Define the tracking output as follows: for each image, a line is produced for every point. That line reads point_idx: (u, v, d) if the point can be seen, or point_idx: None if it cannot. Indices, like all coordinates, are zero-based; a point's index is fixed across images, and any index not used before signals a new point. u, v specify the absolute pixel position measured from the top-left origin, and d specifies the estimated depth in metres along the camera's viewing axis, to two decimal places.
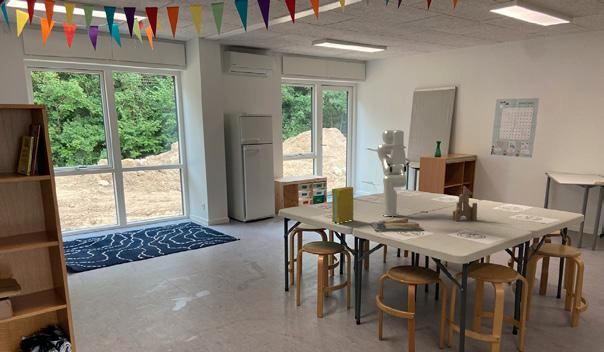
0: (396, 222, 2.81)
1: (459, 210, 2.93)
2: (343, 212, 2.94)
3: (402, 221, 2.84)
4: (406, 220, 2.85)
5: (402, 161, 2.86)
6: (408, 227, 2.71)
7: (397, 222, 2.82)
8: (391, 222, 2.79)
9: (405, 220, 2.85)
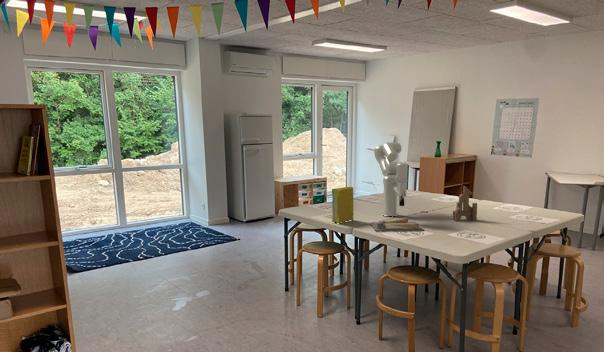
0: (396, 222, 2.81)
1: (459, 210, 2.93)
2: (343, 212, 2.94)
3: (402, 221, 2.84)
4: (406, 220, 2.85)
5: None
6: (408, 227, 2.71)
7: (397, 222, 2.82)
8: (391, 222, 2.79)
9: (405, 220, 2.85)
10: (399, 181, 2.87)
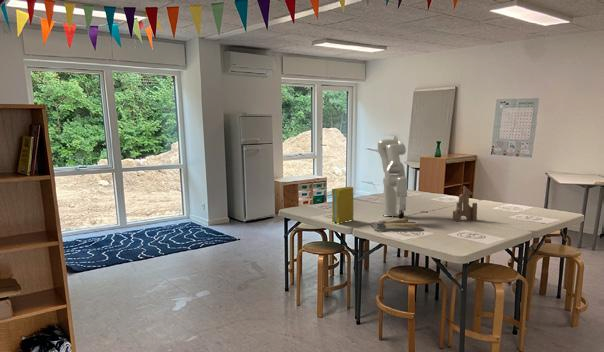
0: (396, 222, 2.81)
1: (459, 210, 2.93)
2: (343, 212, 2.94)
3: (402, 221, 2.84)
4: (406, 220, 2.85)
5: None
6: (408, 227, 2.71)
7: (397, 222, 2.82)
8: (391, 222, 2.79)
9: (405, 220, 2.85)
10: (399, 195, 2.89)
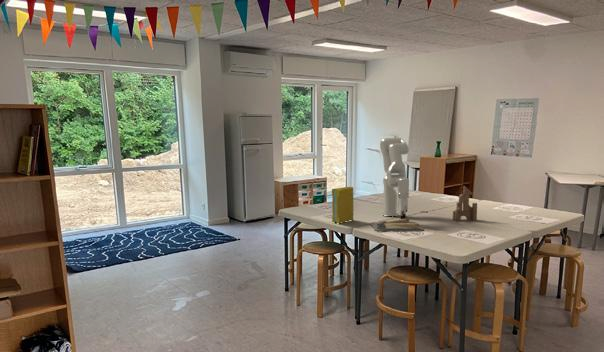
0: (397, 222, 2.81)
1: (459, 210, 2.93)
2: (343, 212, 2.94)
3: (403, 221, 2.83)
4: (407, 220, 2.84)
5: None
6: (408, 227, 2.71)
7: (398, 222, 2.81)
8: (391, 222, 2.79)
9: (406, 220, 2.84)
10: (400, 196, 2.84)
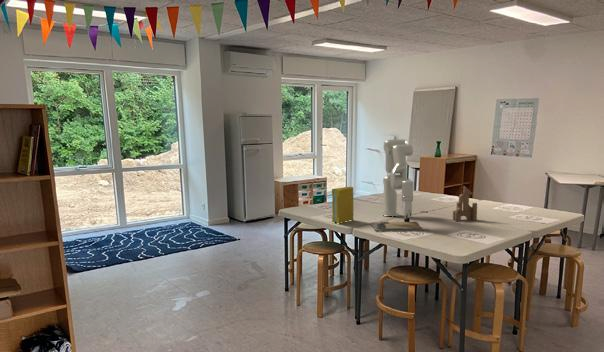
0: None
1: (459, 210, 2.93)
2: (343, 212, 2.94)
3: None
4: None
5: None
6: (408, 227, 2.71)
7: None
8: None
9: None
10: (404, 199, 2.74)
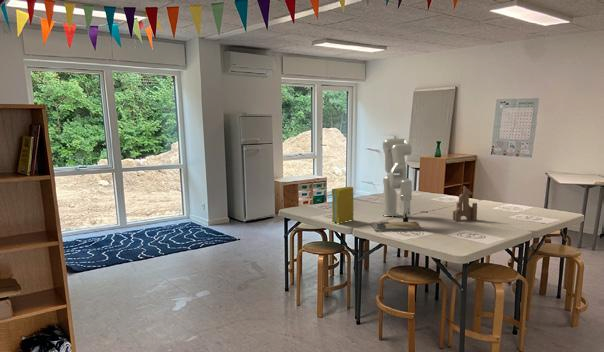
0: None
1: (459, 210, 2.93)
2: (343, 212, 2.94)
3: None
4: None
5: None
6: (408, 227, 2.71)
7: None
8: None
9: None
10: (403, 199, 2.76)
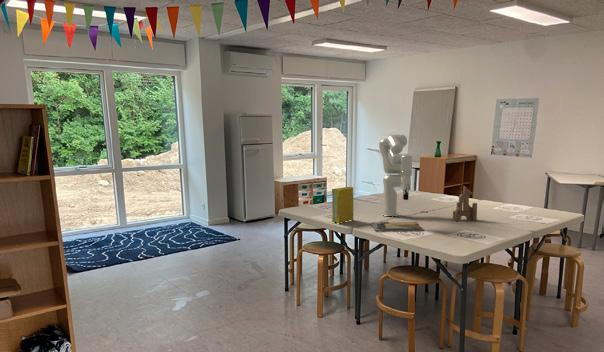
0: None
1: (459, 210, 2.93)
2: (343, 212, 2.94)
3: None
4: None
5: None
6: (408, 227, 2.71)
7: None
8: None
9: None
10: (403, 174, 2.74)
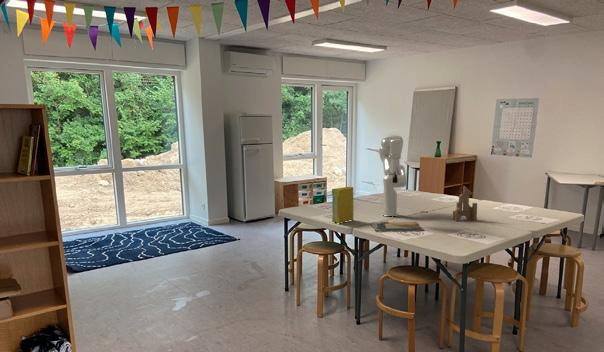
0: None
1: (459, 210, 2.93)
2: (343, 212, 2.94)
3: None
4: None
5: None
6: (408, 227, 2.71)
7: None
8: None
9: None
10: (392, 158, 2.85)
